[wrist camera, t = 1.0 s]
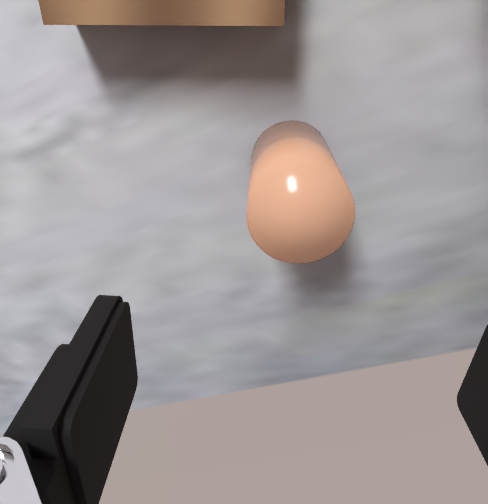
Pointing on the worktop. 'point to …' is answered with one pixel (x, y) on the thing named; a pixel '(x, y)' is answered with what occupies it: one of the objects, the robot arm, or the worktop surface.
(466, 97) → the worktop surface
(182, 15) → the walnut plinth
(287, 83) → the worktop surface
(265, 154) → the glossy peach capsule
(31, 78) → the worktop surface
